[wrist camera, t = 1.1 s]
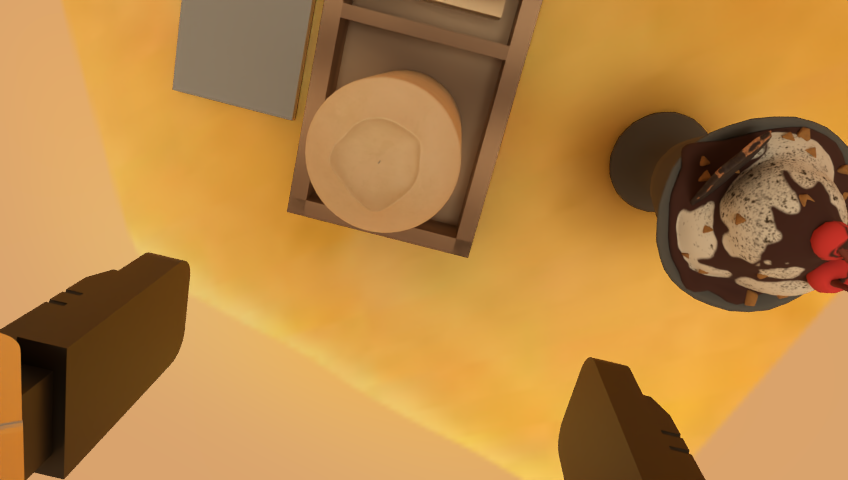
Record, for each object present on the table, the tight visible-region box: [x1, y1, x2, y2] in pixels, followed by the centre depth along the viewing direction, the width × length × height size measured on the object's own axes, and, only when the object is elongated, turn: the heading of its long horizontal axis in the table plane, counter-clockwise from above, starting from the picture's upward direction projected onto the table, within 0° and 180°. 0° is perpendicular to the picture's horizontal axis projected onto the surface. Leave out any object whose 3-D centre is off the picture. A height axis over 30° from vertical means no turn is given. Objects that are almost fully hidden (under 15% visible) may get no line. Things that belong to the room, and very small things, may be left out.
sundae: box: [610, 112, 848, 312], centre depth 21 cm, size 7×7×15 cm
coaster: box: [173, 0, 316, 120], centre depth 28 cm, size 7×6×1 cm
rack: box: [287, 0, 542, 258], centre depth 25 cm, size 17×9×5 cm, turn 166°
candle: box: [305, 70, 462, 233], centre depth 24 cm, size 6×6×10 cm
